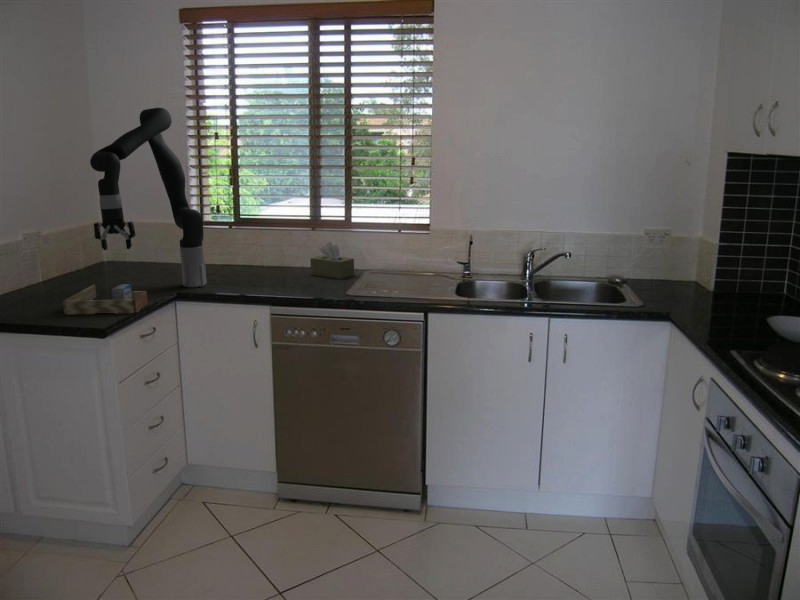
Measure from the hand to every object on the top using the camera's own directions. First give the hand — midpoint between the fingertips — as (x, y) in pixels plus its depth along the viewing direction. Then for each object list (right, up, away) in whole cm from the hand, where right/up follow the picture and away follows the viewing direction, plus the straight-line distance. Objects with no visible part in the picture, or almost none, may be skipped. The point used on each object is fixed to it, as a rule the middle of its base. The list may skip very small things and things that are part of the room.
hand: (117, 249), depth 251 cm
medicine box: (+3, -23, -1) cm, 23 cm away
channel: (-4, -21, +4) cm, 22 cm away
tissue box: (+77, -8, +55) cm, 95 cm away
